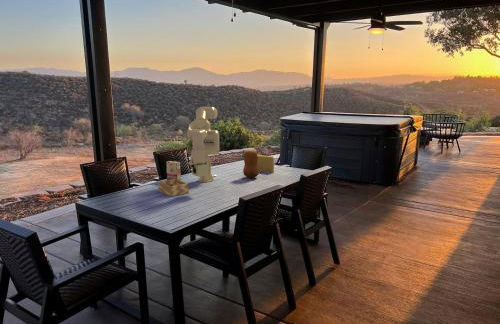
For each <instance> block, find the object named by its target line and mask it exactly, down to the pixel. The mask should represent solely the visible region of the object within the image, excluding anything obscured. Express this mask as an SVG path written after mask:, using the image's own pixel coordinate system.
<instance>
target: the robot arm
mask: <svg viewBox="0 0 500 324" xmlns="http://www.w3.org/2000/svg"><path fill="white" fill-rule="evenodd" d="M195 115H196V117H195V120H193V121H191V122H190V123H189V125H188V127H187V136H186V137H187V138H188V140H192V149H191V152H190V161H188V165H189V166H190V167H191V169H192V168H193V173H195V174H196V168H195V167H196V164H205V165H206V176H201V177H198V178H197V181H198V182H200V183H210V182H213V181H214V178H217V174H212V160H211V158H210V156H211V155H214V156H215V155H218V154H219V153H220V132H219V130H216V129H211V123H210V121H209V120H214V119H215V120H216V119H217V118H218V109H217V108H216V107H214V106H200V107H198V108H197V109H196V110H195ZM211 142H212V143H211ZM192 163H193V165H192Z"/></svg>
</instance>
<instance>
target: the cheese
mask: <svg viewBox="0 0 500 324" xmlns="http://www.w3.org/2000/svg"><path fill="white" fill-rule="evenodd" d="M257 156H258V162H257V165H258V168H259V172H263V171H264V173H269V172H271V173H270V174H273V173H275V160H274V159H275V158H274V156H270V155H264V154H261V153H259V154H258V153H257Z"/></svg>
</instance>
